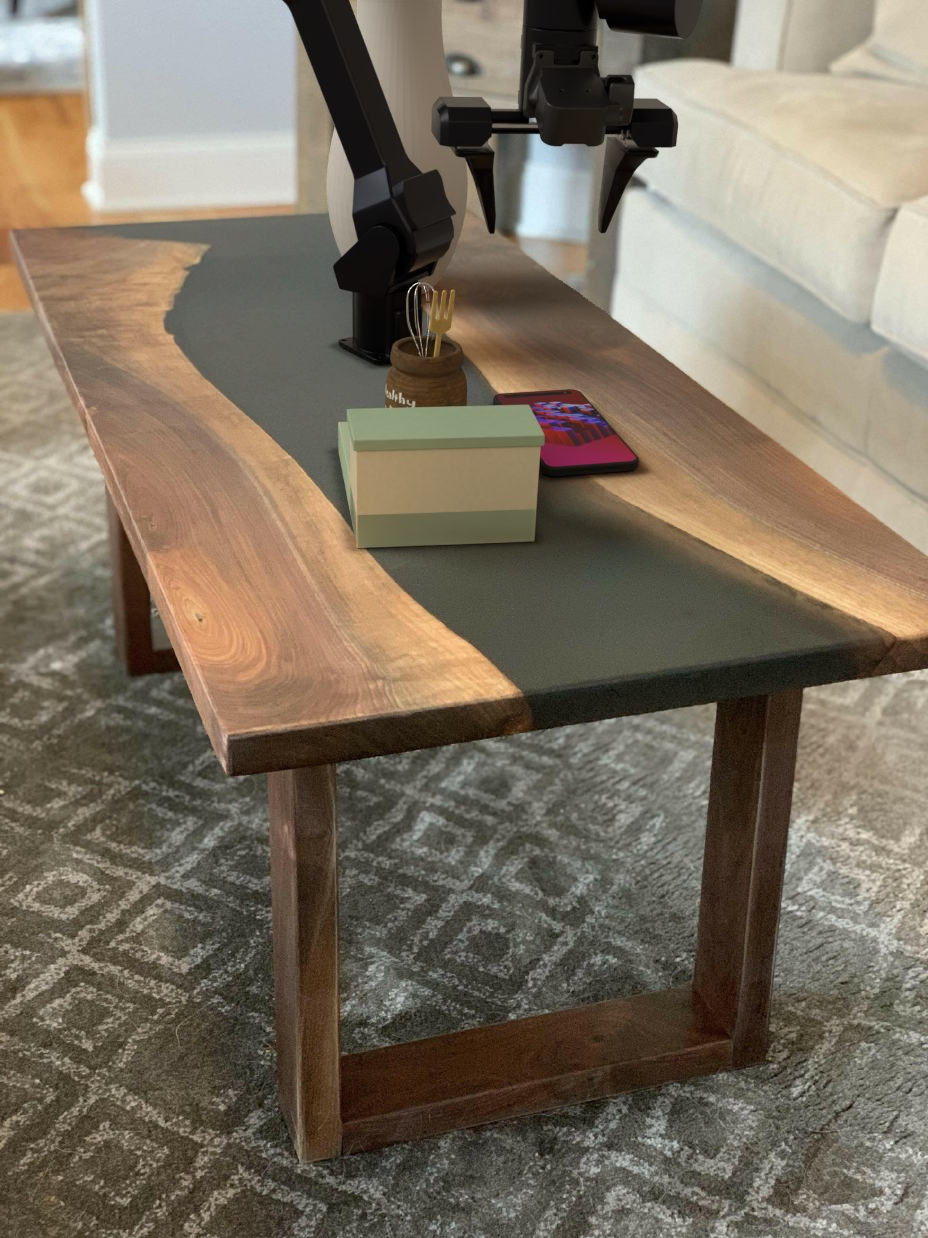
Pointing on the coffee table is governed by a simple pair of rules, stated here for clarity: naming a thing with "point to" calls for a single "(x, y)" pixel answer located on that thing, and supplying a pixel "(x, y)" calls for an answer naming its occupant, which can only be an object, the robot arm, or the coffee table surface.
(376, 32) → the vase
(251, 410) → the coffee table surface
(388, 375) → the utensil holder
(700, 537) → the coffee table surface
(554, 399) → the smartphone
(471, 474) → the beige rectangular box
